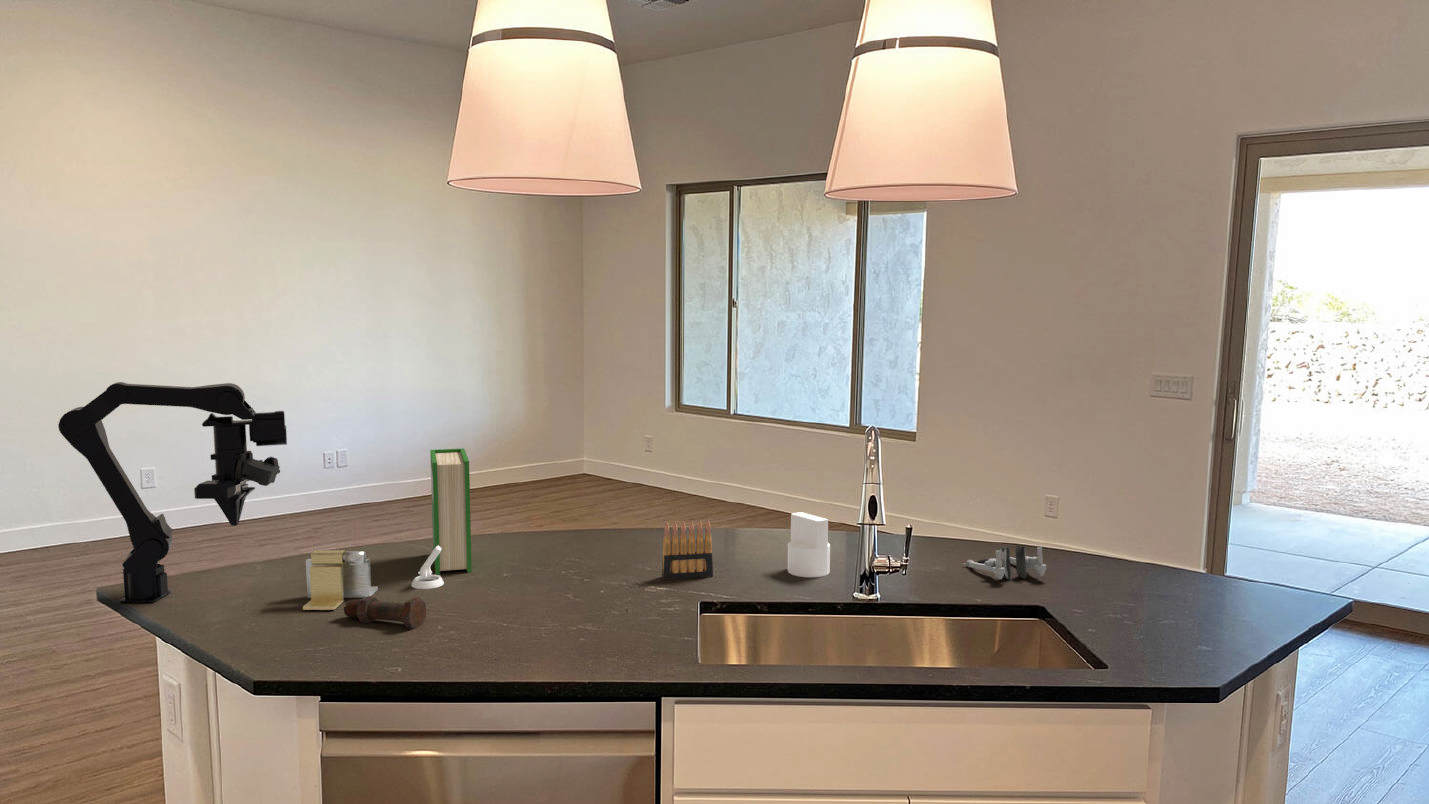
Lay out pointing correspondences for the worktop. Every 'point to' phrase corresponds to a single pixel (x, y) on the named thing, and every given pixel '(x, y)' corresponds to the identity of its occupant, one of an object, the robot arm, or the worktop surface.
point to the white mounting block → (351, 575)
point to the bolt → (387, 611)
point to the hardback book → (451, 509)
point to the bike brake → (1003, 561)
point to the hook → (428, 573)
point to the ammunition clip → (687, 553)
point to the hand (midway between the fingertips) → (234, 525)
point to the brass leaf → (326, 580)
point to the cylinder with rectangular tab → (808, 546)
